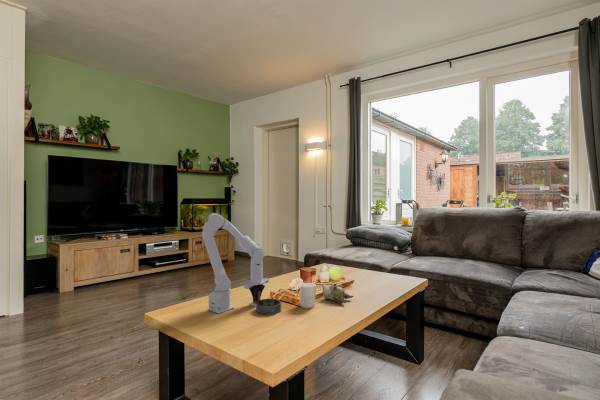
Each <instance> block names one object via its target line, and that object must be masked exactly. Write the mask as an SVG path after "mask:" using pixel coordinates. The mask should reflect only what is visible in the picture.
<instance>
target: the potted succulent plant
mask: <svg viewBox="0 0 600 400" xmlns="http://www.w3.org/2000/svg"><path fill="white" fill-rule="evenodd" d="M322 293H323V299H324V300H332V301H334V302H337V303H338V304H343V303H347V300H348V299H352V298H354V295H350V294H348V293H347V292H345V289H344V288H343V287H342V286H338V284H337V283H333V284H332V285H330V286H329V285H327V284H322Z"/></svg>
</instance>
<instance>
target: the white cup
mask: <svg viewBox="0 0 600 400" xmlns="http://www.w3.org/2000/svg"><path fill="white" fill-rule="evenodd" d="M298 287H299V300H300V301H299V303H300V304H299V306H300V307H301V308H304V309H311V308H314V307H315V305H316V291H317V289H316V288H317V285H316V284H315V283H314V282H301V283H299V285H298Z"/></svg>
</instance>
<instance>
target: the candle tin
mask: <svg viewBox="0 0 600 400" xmlns="http://www.w3.org/2000/svg"><path fill="white" fill-rule="evenodd" d="M255 311H256V312H257V313H258V314H259V315H260V314H261V315H266V316H269V315H277V314H279V313H280V312H281V311H282V301H281V300H280V299H277V298H264V299H260V300H259V301H258V302H257V303H256V307H255Z"/></svg>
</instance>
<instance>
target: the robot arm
mask: <svg viewBox="0 0 600 400" xmlns="http://www.w3.org/2000/svg"><path fill="white" fill-rule="evenodd" d="M204 220H205V221H204V225H203V228H202V232H201V235H202V239H203V243H204V246H205V248H206V252H207V255H208V258H209V261H210V265H211V267H212V270H213V274H214V279H213V280H214V284H215V286H214V290H213V291H212V292H210V293H209V295H208V308H207V311H210V312H213V313H214V314H215V313H216V314H220V313H221V314H222V313H225V312H227V311H229V310H233V309H235V306H233V305H231V286H232V282H231V279H230V278H229V277H228V275H227V273H226V270H225V268H224V265H223V262H222V258H221V256H220V252H219V249H218V246H217V244H216V240H215V237H214V236H215V235H216V232H217V231H218V230H219V229H222V230H226V231H227V232H229V233H230V234H231V235H232V236H233V237H234V238H235V239H236V240H237V241H238V246H240V248H242V250H244V252H245V253H247V254H248V255H249V256H250V281H248V282H246V283H243V289H244V290H249V291H250V293H251V297H252V302H253V301H257V300H258V292H259V290H260V299H261V297H262V294H263V291H264V289H265V287H266V286H265V284H269V283H270V281H269V278H264V277H263V276H264V274H263V272H264V271H263V268H264V266H263V265H264V263H263V259H264V257H265V253H264V250H263V249H262V248H260V247H259V246H260V245H259V244H257V243H255V241H253V238H252V237H251V236H250V235H249V236H248V235H243V234H242V233H241V232H240V231H239V230H238V229H237V228H236V227H235V226H234V225H233V223H232V222H230V221H229V220H228V219H226V218H225V217H223V216H222V215H221V214H218V213H216V212H212V213H210V214H208V216H207V218H206V219H204Z"/></svg>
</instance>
